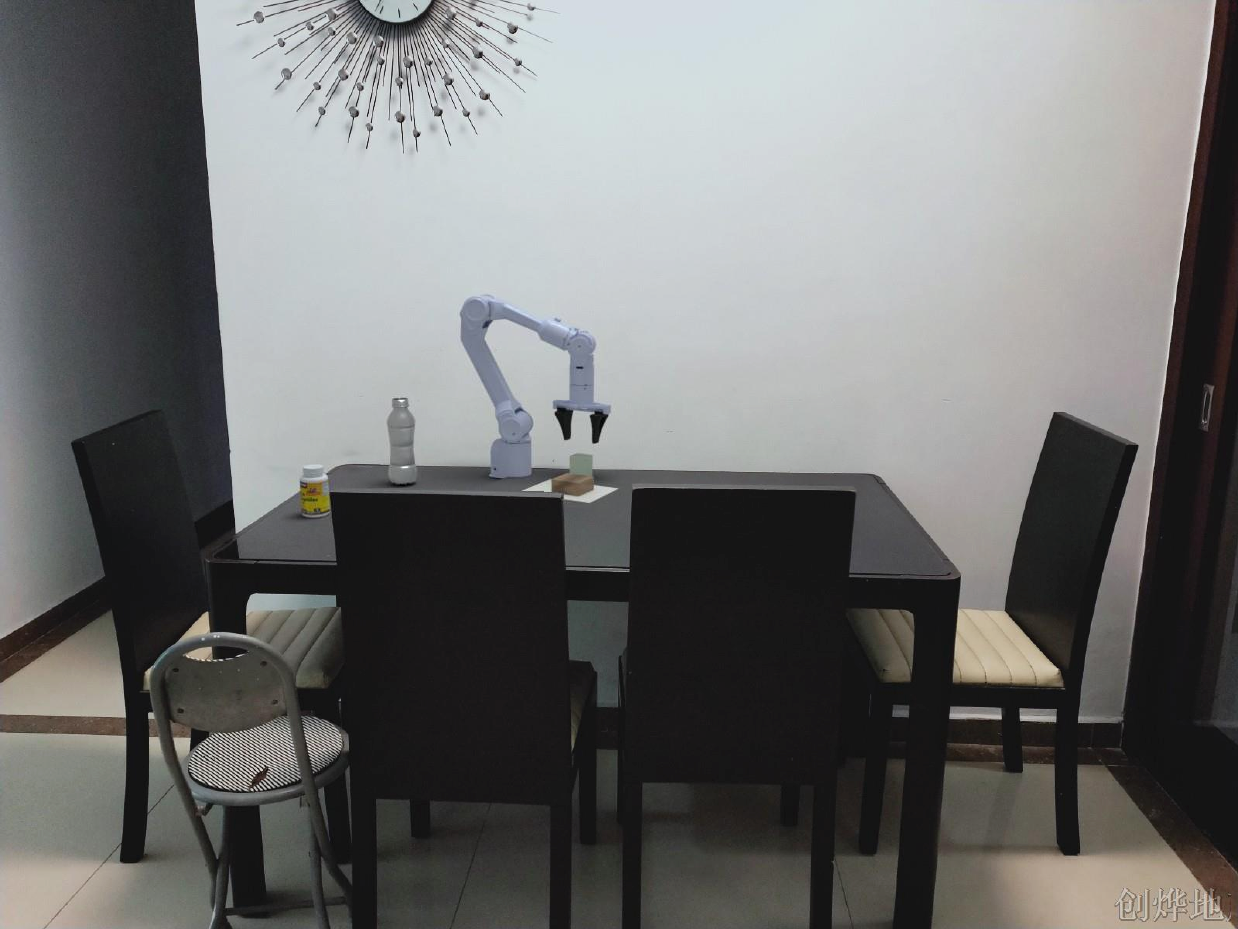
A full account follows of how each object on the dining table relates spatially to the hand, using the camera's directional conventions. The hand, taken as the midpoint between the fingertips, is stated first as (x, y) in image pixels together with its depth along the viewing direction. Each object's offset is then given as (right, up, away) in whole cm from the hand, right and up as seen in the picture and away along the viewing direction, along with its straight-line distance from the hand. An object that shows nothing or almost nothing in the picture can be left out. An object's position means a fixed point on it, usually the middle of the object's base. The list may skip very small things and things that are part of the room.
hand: (581, 441), depth 224 cm
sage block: (0, -9, +2) cm, 9 cm away
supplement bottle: (-53, -16, -30) cm, 63 cm away
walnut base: (-1, -11, -11) cm, 16 cm away
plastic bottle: (-41, -10, -4) cm, 43 cm away
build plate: (-2, -12, -11) cm, 16 cm away
